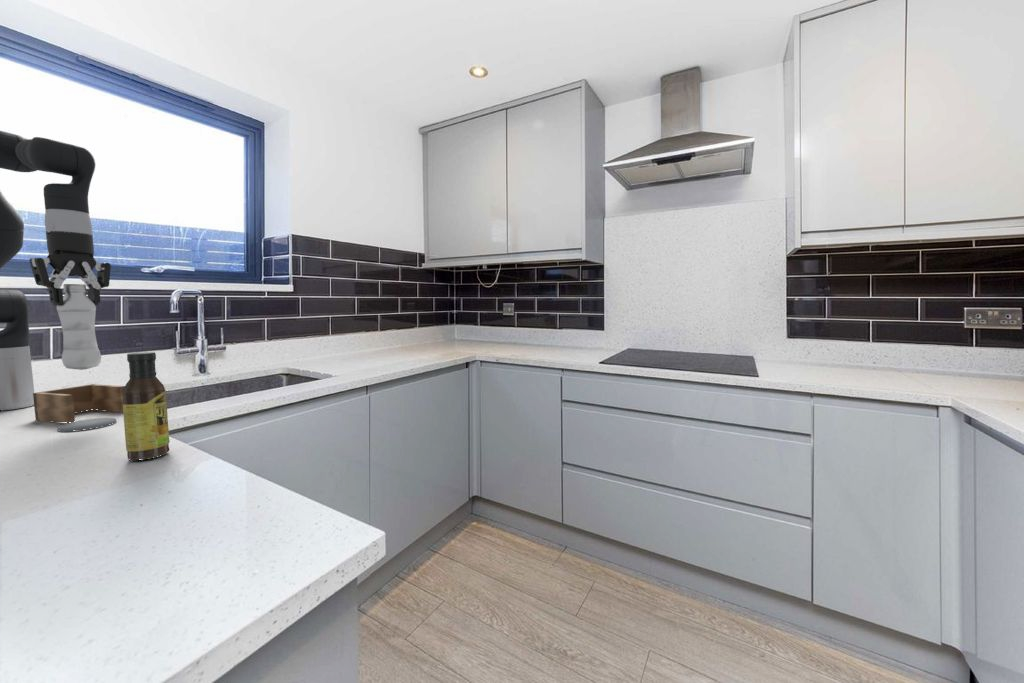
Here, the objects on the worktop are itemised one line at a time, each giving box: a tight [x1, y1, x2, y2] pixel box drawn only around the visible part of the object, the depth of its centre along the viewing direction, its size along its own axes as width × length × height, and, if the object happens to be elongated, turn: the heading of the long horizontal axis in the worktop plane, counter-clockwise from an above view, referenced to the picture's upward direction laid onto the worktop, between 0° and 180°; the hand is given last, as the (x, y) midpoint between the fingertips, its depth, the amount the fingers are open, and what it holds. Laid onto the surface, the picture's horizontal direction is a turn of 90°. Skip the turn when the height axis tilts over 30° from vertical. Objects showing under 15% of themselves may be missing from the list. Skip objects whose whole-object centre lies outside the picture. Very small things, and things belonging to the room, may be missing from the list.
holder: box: [33, 383, 125, 423], centre depth 111 cm, size 12×12×7 cm
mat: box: [57, 417, 117, 432], centre depth 102 cm, size 10×10×1 cm
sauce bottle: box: [123, 351, 170, 461], centre depth 80 cm, size 6×6×20 cm
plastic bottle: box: [56, 283, 102, 371], centre depth 100 cm, size 6×7×20 cm
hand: (76, 305), depth 100 cm, fingers closed on plastic bottle, 6 cm apart
